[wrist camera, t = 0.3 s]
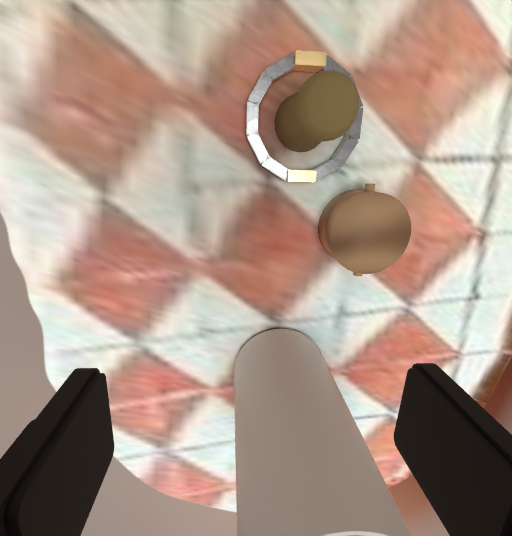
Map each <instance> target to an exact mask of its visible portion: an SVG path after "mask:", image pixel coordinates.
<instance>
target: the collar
mask: <svg viewBox="0 0 512 536" xmlns="http://www.w3.org/2000/svg"><path fill="white" fill-rule="evenodd" d="M326 55H327V52H317V51H303V50H296V51H295V53H294V54H293V53H291V54H290V55H288V56H286V57H285V58H283V59H281V60H280V61H278V62H276V63H274V64H273V65H271V66H269V67H268V68H266V69H265V71H263V73H262V75H261V76H260V78H259V80H258V82H257V84H256V85H255V87H254V89H253V91H252V93H251V95H250V96H249V98H248V100H247V104H246V136H247V137H246V139H247V141H248V143H249V145H250V147H251V149H252V151H253V153H254V155H255V157H256V159H257V160H258V162H259V164H261V163H262V164H261V166H262V167H264V168H265V169H267V170H268V171H270V172H271V173H273V174H274V175H276V176H277V177H279V178H280V179H282V180H285V181H294V182H316V181H318V180H320V179H321V178H323V177H325V176H327V175H329V174H330V173H332V172H334V171H336V170H338V169H339V168H340V167H341V166H343V164H344V163H345V161H346V160H347V158H348V157H349V155H350V154H351V152H352V151H353V149H354V148H355V146H356V144H357V143H358V139H359V138H360V130H361V122H362V114H363V108H360V107H362V106H363V104H362V102H361V99H360V96H359V110H358V113H357V117H356V119H355V121H354V122H353V124H352V126H351V127H350V129H349V130H348V131H346V132H345V133H344V139H343V140H342V142H341V143H340V145H339V146H338V148H337V150H336V151H335V153H334V154H333V156H332V157H331V159H330V160H328V161H326V162H324V163H323V164H321V165H319V166H317V167H315V168H314V169H312V170H310V171H306V170H289V169H287V168H286V167H284V166H283V165H281V164H280V163H278V162H277V161H275V160H274V159H272V158H271V157H270V156H269V155H268V153H267V151H266V149H265V146H264V144H263V142H262V140H261V138H260V136H259V134H258V110H259V104H260V102H261V100H262V98H263V97H264V95H265V93H266V91H267V89H268V88H269V86H270V84H272V83H273V82H275V81H277V80H278V79H280V78H282V77H283V76H285V75H287V74H289V73H290V72H292V71H301V72H317V73H319V72H321V71H330V70H334V71H338V72H342V73H344V74H345V75H346V76H348V77H349V76H350V75H351V74H350V73H349V72H347V71H346V70H345V69H344V68H342V67H341V66H340V65H339V64H337V63H336V62H335V61H334V60H332V59H331V58H330V57H329V56H326ZM349 78H350V79H351V80H352V82H353V83H354V80H353V77H352V76H351V77H349ZM354 85H355V83H354ZM355 86H356V85H355ZM357 92H358V91H357ZM358 95H359V93H358Z"/></svg>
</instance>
